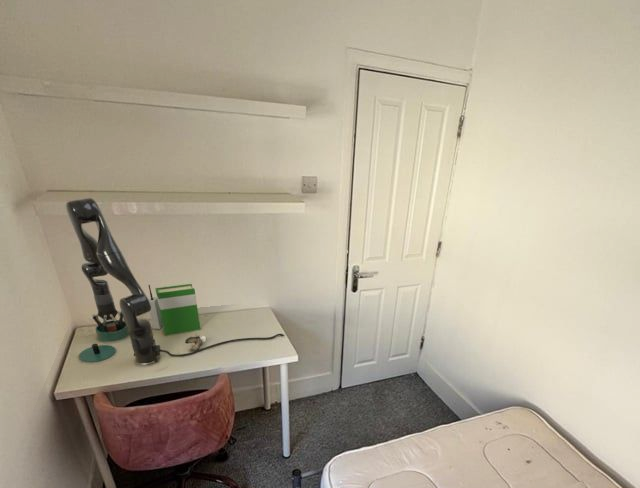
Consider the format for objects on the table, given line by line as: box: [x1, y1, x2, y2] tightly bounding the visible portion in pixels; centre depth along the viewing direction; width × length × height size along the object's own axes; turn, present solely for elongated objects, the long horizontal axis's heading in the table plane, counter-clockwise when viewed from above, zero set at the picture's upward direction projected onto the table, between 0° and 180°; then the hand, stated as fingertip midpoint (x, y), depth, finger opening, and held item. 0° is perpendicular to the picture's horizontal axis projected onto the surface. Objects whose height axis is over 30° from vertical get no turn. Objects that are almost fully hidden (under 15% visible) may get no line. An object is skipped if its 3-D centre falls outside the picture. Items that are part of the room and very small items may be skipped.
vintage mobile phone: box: [148, 284, 163, 330], centre depth 206 cm, size 4×5×25 cm
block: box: [106, 323, 117, 333], centre depth 199 cm, size 4×4×4 cm
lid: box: [78, 343, 116, 363], centre depth 184 cm, size 15×15×6 cm
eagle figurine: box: [184, 333, 207, 352], centre depth 197 cm, size 8×7×9 cm
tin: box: [95, 320, 130, 343], centre depth 200 cm, size 14×14×6 cm
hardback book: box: [154, 283, 201, 336], centre depth 207 cm, size 18×7×24 cm, turn 122°
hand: (112, 331), depth 200 cm, fingers closed on block, 4 cm apart
